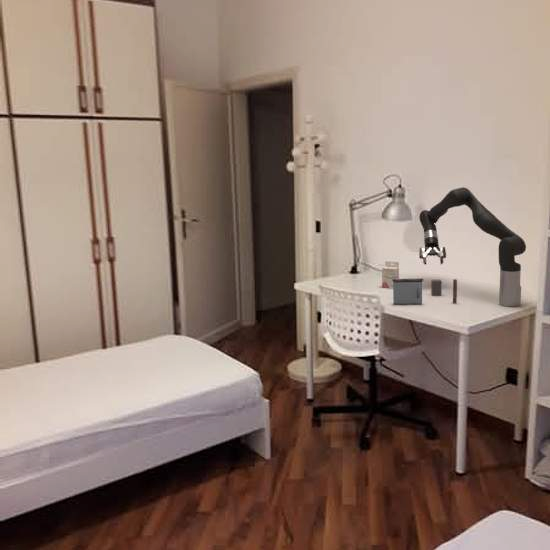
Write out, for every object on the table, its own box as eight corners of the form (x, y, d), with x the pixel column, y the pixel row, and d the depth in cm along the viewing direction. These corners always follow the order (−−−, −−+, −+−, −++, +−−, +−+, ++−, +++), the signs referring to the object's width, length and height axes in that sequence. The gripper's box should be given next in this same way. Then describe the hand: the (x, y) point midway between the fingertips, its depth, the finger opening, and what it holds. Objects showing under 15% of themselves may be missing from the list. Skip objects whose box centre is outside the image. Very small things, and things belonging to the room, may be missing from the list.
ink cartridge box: (381, 287, 329) (381, 262, 326) (385, 286, 333) (385, 261, 330) (395, 289, 325) (395, 263, 322) (399, 287, 329) (399, 261, 326)
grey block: (421, 302, 290) (422, 281, 288) (422, 304, 288) (422, 282, 286) (393, 303, 292) (393, 281, 290) (393, 304, 290) (393, 282, 288)
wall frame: (455, 302, 290) (456, 277, 287) (457, 304, 287) (457, 278, 284) (392, 302, 295) (392, 278, 292) (392, 304, 291) (392, 279, 289)
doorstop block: (440, 293, 309) (440, 279, 307) (441, 295, 305) (441, 281, 303) (431, 294, 310) (431, 279, 308) (432, 296, 305) (432, 281, 304)
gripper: (418, 236, 322) (420, 260, 313) (444, 235, 320) (447, 259, 311) (417, 244, 328) (419, 267, 320) (443, 243, 326) (446, 267, 318)
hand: (433, 263), depth 315 cm, fingers open, 8 cm apart
